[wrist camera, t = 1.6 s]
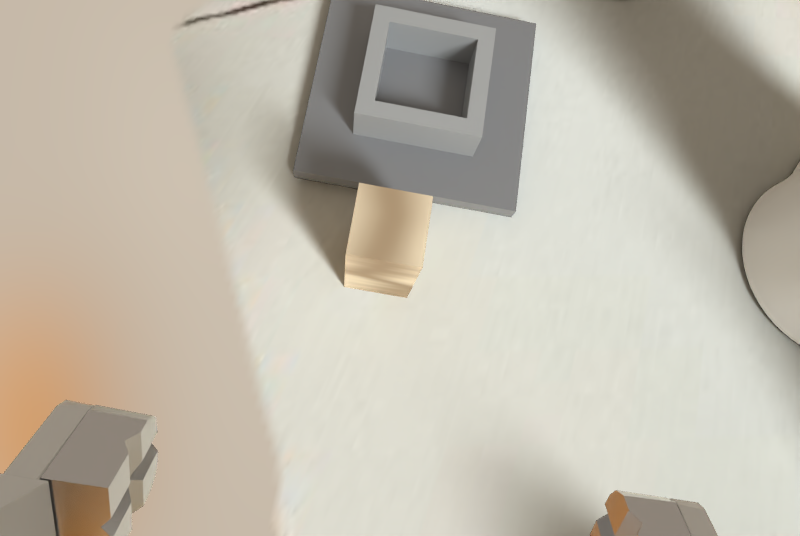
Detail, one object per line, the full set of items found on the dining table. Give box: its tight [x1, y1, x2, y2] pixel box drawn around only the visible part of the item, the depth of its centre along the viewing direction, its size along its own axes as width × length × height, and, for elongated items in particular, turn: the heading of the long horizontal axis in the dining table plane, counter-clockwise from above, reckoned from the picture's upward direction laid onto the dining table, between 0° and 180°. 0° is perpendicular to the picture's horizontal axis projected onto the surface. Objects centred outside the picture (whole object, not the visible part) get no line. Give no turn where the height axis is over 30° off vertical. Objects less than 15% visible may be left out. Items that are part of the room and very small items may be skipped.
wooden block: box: [344, 183, 433, 298], centre depth 38 cm, size 4×4×8 cm
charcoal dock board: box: [293, 0, 536, 217], centre depth 44 cm, size 16×16×4 cm
